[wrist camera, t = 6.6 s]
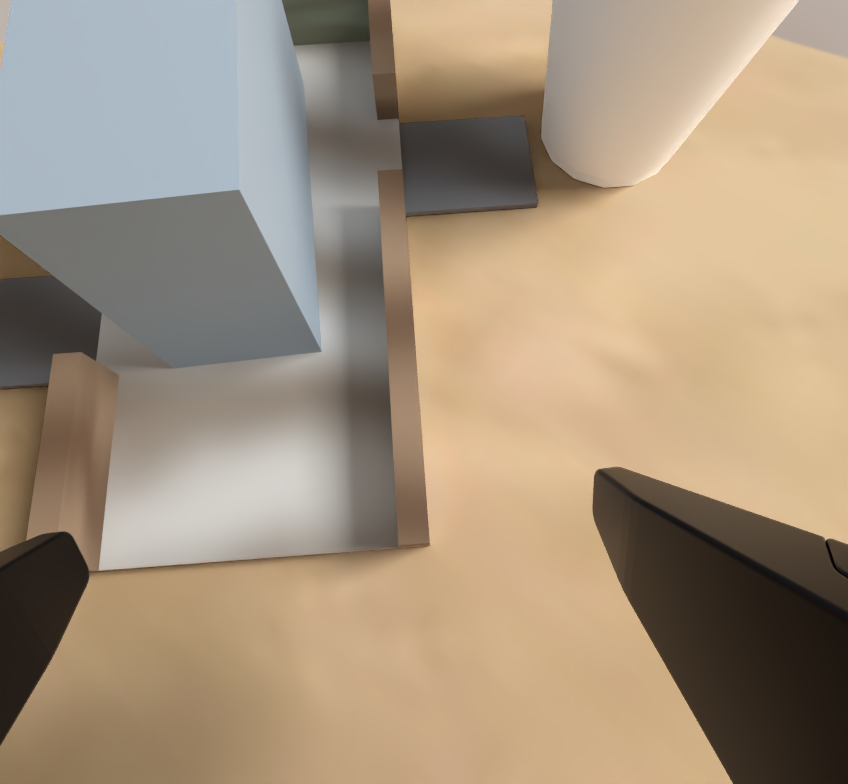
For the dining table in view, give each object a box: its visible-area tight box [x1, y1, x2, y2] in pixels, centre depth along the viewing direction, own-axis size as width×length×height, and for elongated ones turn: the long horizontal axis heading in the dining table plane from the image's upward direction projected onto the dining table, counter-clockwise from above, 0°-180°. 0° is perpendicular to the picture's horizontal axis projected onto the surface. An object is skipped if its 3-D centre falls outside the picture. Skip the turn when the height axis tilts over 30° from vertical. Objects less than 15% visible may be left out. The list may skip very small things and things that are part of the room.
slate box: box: [0, 0, 322, 368], centre depth 19 cm, size 14×6×10 cm, turn 7°
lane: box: [0, 0, 538, 572], centre depth 22 cm, size 26×25×5 cm
